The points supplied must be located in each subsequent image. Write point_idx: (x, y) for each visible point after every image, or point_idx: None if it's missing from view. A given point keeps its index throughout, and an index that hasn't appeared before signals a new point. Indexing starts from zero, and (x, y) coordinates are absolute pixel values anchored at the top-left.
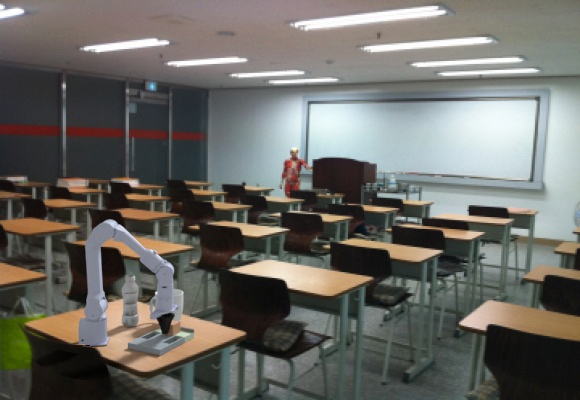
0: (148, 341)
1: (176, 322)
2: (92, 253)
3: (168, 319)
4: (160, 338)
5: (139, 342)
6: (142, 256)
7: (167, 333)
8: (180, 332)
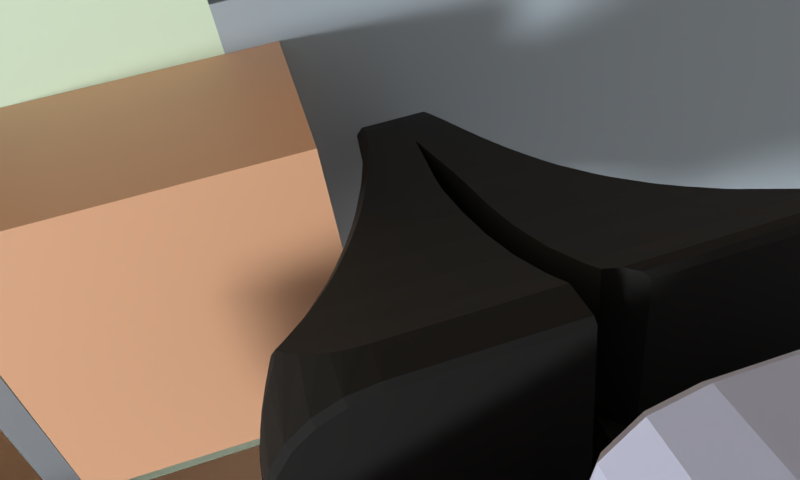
0: (720, 125)
1: (73, 269)
2: None
3: (677, 216)
4: (527, 100)
5: (792, 179)
6: None
7: (389, 122)
8: (2, 91)
